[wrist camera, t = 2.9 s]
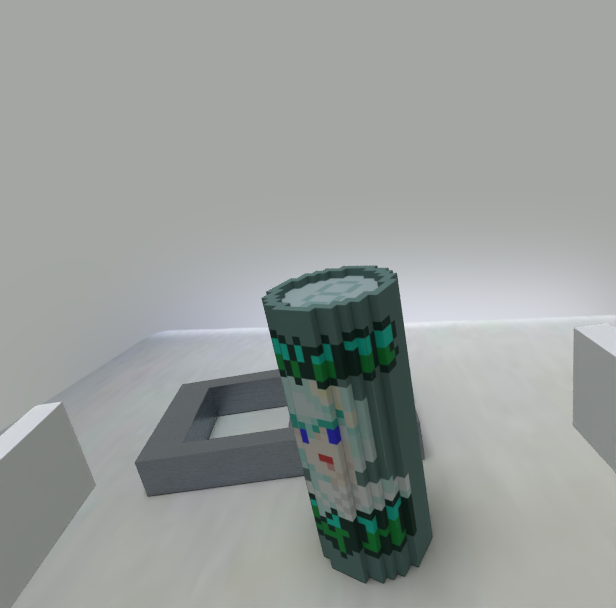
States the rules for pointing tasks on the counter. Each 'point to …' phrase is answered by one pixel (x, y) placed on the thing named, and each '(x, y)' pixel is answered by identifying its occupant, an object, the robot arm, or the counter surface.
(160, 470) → the grey slab with hole
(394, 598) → the counter surface
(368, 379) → the can
